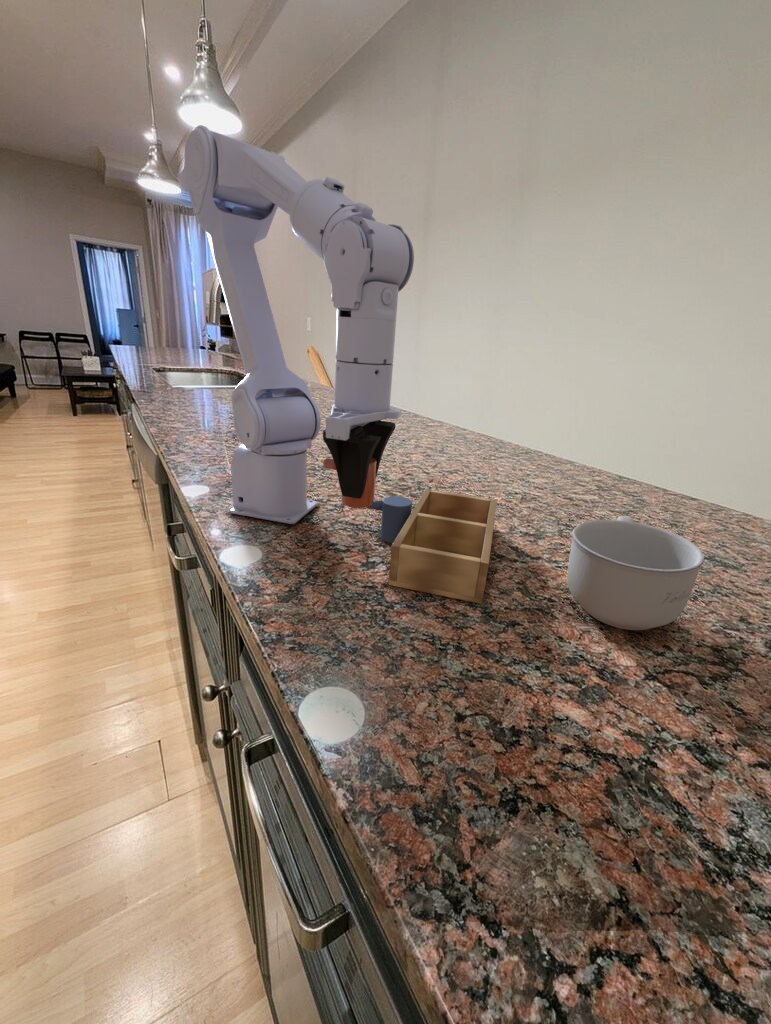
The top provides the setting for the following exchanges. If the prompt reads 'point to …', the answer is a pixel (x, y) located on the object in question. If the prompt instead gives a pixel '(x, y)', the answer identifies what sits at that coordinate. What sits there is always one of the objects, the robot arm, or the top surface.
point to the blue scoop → (392, 515)
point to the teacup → (631, 572)
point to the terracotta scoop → (369, 489)
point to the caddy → (445, 546)
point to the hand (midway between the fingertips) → (358, 490)
